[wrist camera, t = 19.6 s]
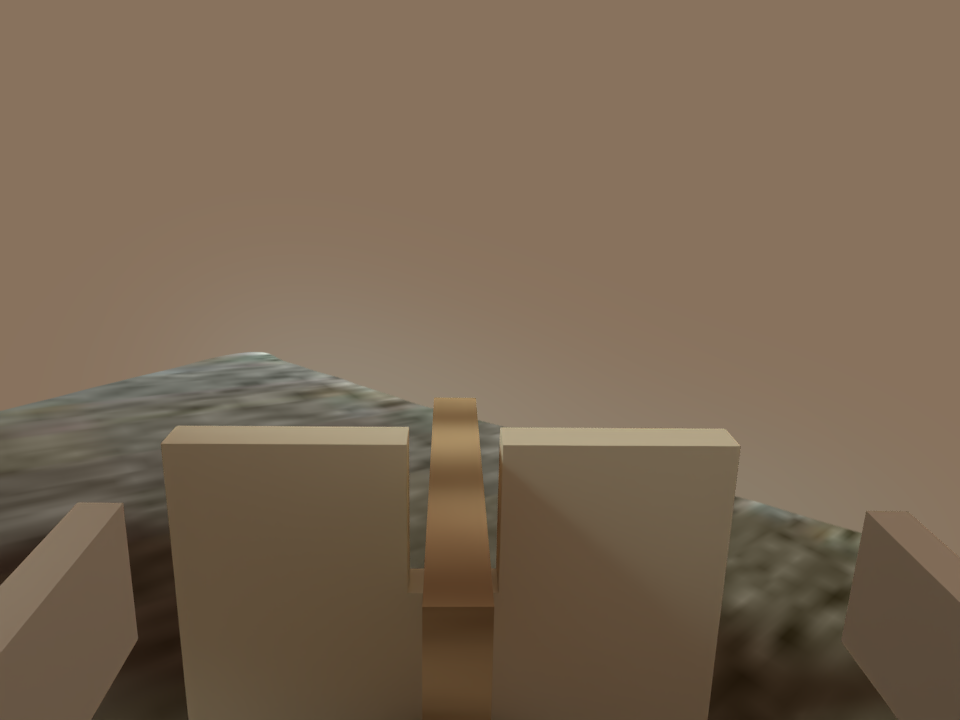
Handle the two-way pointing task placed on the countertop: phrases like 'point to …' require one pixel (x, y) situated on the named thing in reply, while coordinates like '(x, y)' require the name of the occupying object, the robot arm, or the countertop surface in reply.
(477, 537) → the brown angled piece
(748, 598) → the countertop surface
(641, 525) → the cream board
